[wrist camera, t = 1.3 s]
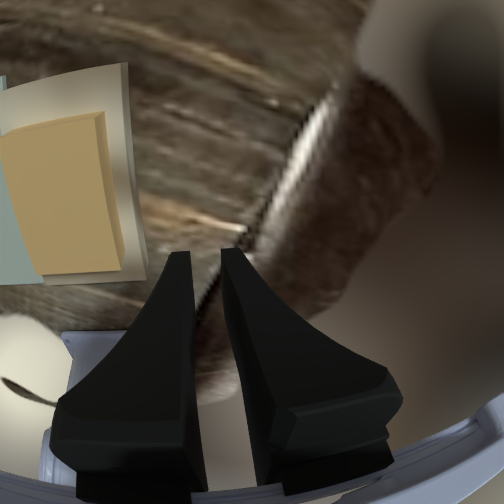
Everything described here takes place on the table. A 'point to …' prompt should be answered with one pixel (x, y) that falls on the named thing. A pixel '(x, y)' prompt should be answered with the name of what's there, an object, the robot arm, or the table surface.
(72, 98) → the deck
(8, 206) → the mat
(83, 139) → the tan rectangular block
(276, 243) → the table surface
